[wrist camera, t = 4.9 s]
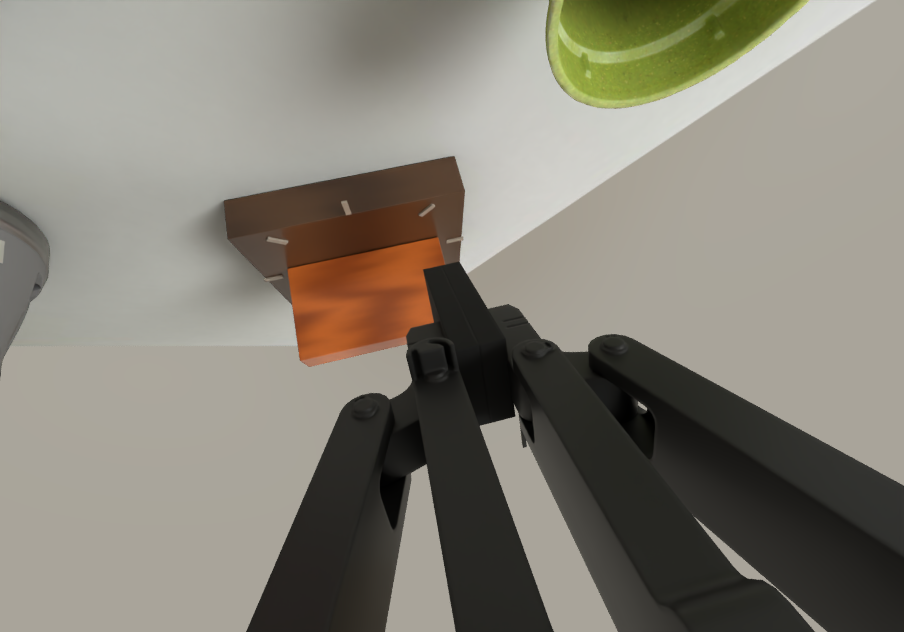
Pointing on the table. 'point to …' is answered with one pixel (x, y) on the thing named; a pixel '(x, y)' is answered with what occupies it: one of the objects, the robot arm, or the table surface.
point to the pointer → (361, 301)
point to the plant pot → (652, 44)
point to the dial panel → (348, 218)
